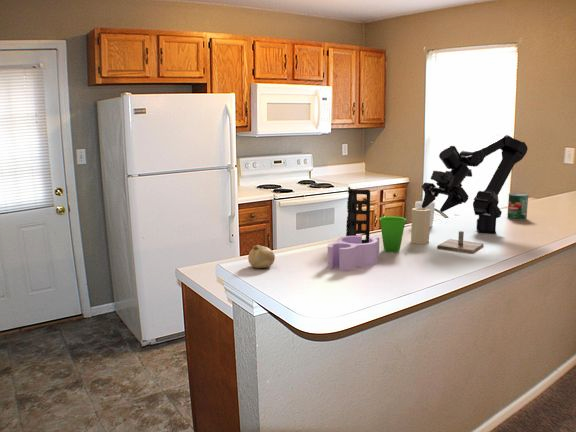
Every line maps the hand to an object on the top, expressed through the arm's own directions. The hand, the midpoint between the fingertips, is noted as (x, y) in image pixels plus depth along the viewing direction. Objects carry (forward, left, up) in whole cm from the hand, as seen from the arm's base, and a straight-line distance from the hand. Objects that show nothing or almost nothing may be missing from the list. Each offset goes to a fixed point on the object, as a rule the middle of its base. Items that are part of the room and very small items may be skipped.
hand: (431, 209), depth 186 cm
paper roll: (+3, +3, -11) cm, 12 cm away
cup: (+12, +19, -12) cm, 25 cm away
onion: (+48, +49, -12) cm, 70 cm away
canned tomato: (-36, -53, -12) cm, 65 cm away
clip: (+22, +37, -12) cm, 45 cm away
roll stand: (-10, +8, -11) cm, 17 cm away
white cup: (+3, -26, -12) cm, 29 cm away
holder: (+25, +12, -12) cm, 30 cm away
